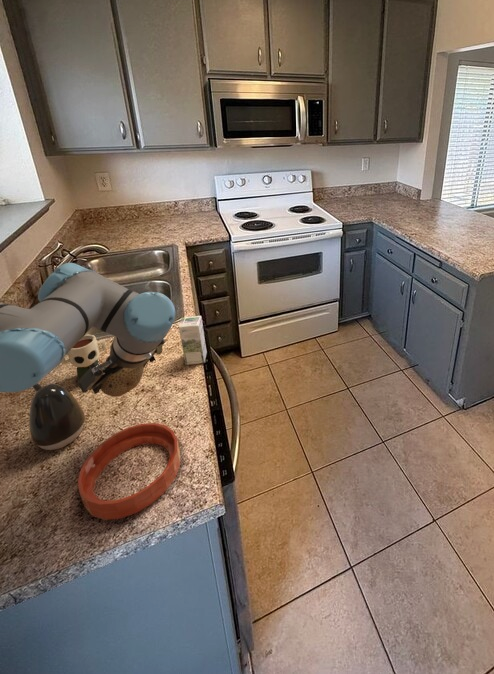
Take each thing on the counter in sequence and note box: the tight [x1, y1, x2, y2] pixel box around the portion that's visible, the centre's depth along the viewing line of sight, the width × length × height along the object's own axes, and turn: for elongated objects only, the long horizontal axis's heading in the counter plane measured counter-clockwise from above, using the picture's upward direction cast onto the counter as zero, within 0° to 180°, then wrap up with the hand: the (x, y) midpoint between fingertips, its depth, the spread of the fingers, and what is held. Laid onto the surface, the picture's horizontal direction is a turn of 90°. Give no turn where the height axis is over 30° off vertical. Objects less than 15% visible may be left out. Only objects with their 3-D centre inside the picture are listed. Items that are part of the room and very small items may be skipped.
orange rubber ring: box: [77, 422, 181, 521], centre depth 75 cm, size 18×18×5 cm
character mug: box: [60, 334, 107, 382], centre depth 102 cm, size 11×7×13 cm, turn 130°
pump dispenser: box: [28, 382, 86, 451], centre depth 82 cm, size 10×10×15 cm
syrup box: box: [178, 315, 208, 366], centre depth 109 cm, size 6×6×14 cm
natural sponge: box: [100, 365, 145, 398], centre depth 79 cm, size 9×9×10 cm
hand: (117, 375), depth 82 cm, fingers closed on natural sponge, 9 cm apart
